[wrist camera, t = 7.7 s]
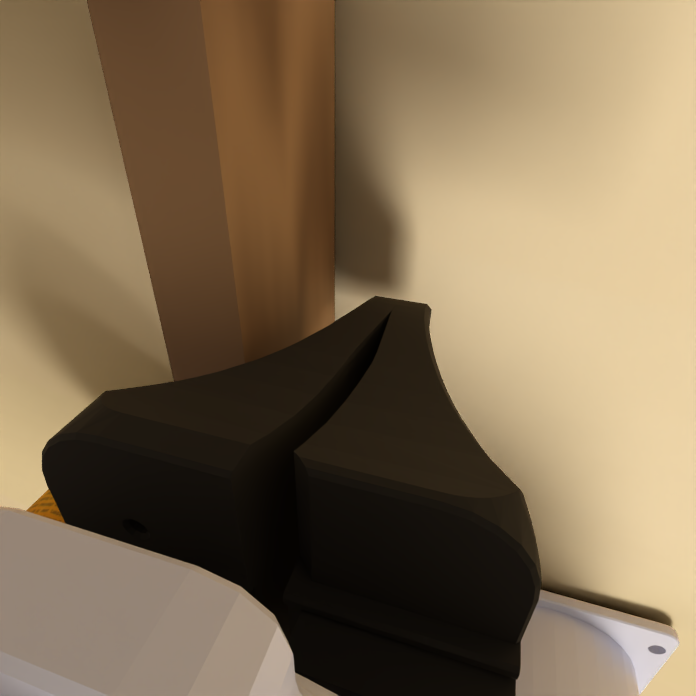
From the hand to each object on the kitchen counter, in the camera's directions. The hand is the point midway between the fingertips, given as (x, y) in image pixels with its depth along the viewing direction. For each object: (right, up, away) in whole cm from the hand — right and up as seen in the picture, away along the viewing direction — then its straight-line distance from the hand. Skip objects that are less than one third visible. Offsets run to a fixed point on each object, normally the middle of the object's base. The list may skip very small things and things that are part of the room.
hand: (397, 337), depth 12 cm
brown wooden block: (-2, +2, +2) cm, 3 cm away
